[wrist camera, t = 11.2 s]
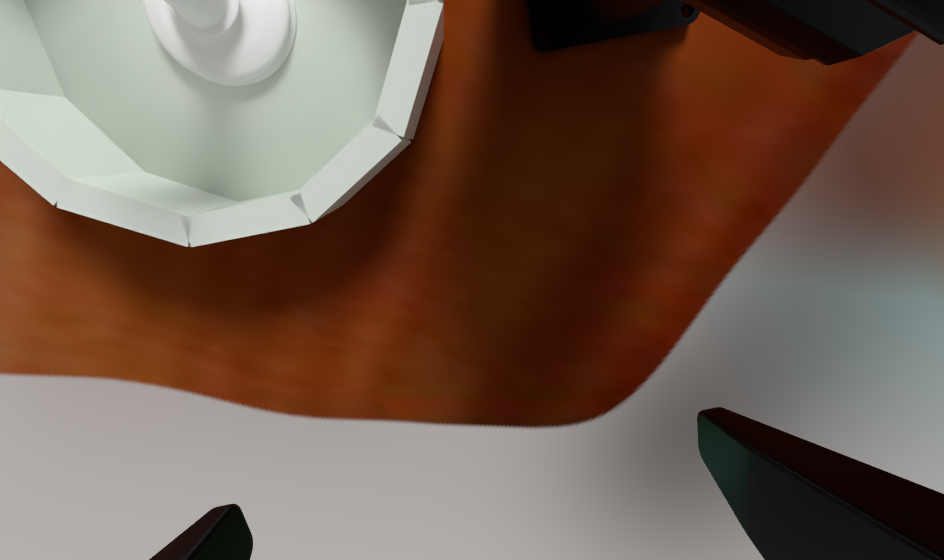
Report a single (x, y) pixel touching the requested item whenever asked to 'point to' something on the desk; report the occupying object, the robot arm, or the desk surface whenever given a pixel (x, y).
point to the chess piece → (225, 36)
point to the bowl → (208, 115)
